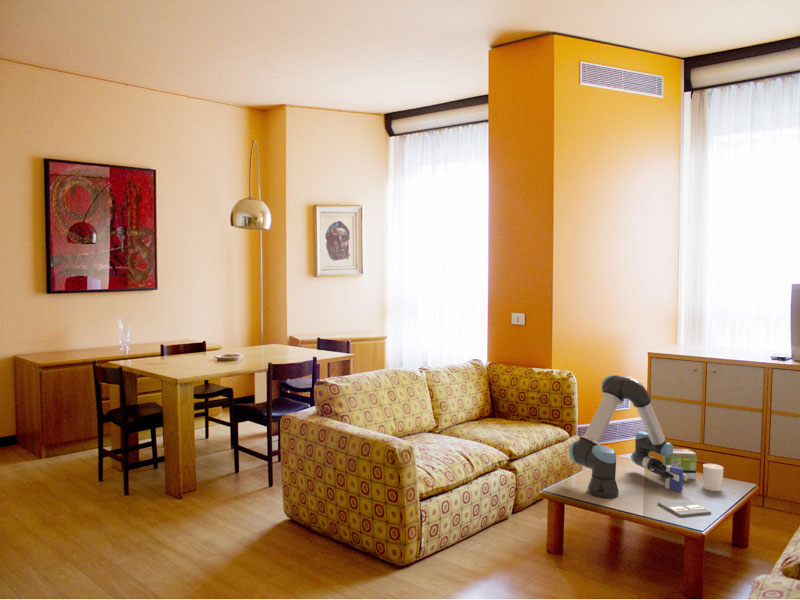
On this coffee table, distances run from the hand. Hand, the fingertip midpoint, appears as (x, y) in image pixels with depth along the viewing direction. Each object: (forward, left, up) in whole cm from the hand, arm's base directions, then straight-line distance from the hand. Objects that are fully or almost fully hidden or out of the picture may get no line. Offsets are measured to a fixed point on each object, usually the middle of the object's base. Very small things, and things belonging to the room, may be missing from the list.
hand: (682, 478), depth 314 cm
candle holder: (+22, +3, -8) cm, 24 cm away
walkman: (0, +5, -8) cm, 10 cm away
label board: (-14, -19, -8) cm, 25 cm away
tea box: (+18, +24, -8) cm, 31 cm away
